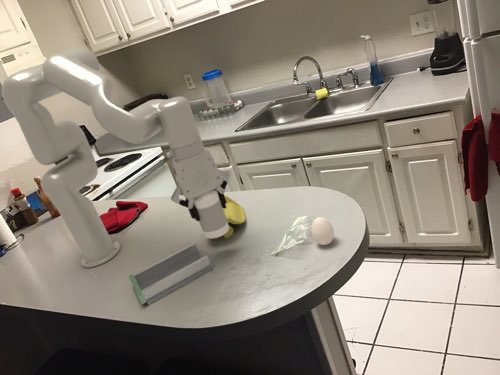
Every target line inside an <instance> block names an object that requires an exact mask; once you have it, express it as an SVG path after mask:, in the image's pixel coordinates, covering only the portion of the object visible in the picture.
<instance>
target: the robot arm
mask: <svg viewBox="0 0 500 375" xmlns="http://www.w3.org/2000/svg"><path fill="white" fill-rule="evenodd" d="M100 67H101V66H100V63H99V59H98V57H96V55H95V54H94V53H93V52H92V51H90V49H87V48H84V47H75V48H71V49H67V50H65V51H64V50H63V51H61V52H58V53H54V54H53V55H50V56H49V57H48V58H46V60H44V62H43V63H41V64H37V65H34V66H31V67H27V68H25V69H21V70H19V71H17V72H14V73H13V74H10V75H9V76H7V77H6V79H4V81H3V82H2V85H1V95H2V96H1V97H2V99H3V102H4V103H5V105H6V107H7V108H8V110H9V111H10V113H11V114H12V115H13V117H14V118H15V119H16V121H17V123H18V124H19V127H20V129H21V132H22V134H23V136H24V138H25V141H26V142H27V145H28V147H29V149H30V151H31V154H32V155H33V157H34V159H35V161H37V162H38V164H41V165H43V166H49V165H54V164H55V163H57V162H59V161H61V160H63V159H65V158H66V157H68V158H67V159H65V160H64V161H62V162H60V163H58V164H56V165H55V166H53V167H51V168H50V169H48V170H46V172H45V173H44V174H43V175H42V177H41V179H40V187H41V189H42V191H43V193H44V194H45V195H46V196H47V198H48V199H49V200H50V202H51V203H53V205H54V207H55V208H56V210H57V212H58V213H59V215H60V216H61V219H62V220H63V222H64V223H65V225H66V227H67V228H68V230H69V233H70V234H71V236H72V238H73V240H74V242H75V243H76V245H77V247H78V248H79V250H80V253H81V255H82V258H81V260H80V264H81V266H82V267H83V268H96V267H99V266H101V265H102V264H104V263H106V262H108V261H110V260H111V259H113V258H114V257H115V256H117V255H118V253H119V252H120V251H121V245H120V243H119V242H118V241H112V238H111V236H110V235H109V232H108V231H107V229H106V227H105V225H104V223H103V220H102V219H101V217H100V215H99V213H98V211H97V209H96V207H95V205H94V204H93V203H94V202H92V200H91V199H90V198H88V197H87V196H86V195H84V194H83V193H80V190H83V188H84V187H86V186H87V185H89V184H90V183H91V182H93V181H94V180H95V179H96V178H97V176H98V172H99V169H98V164H97V162H96V159H95V156H94V153H93V150H92V149H91V146H90V143H89V141H88V139H87V137H86V134H85V132H84V131H83V129H82V128H81V127H80V125H78V124H77V123H75V122H74V121H71V120H61V121H59V122H56V123H55V120H54V119H53V115H52V113H51V112H50V110H48V108H46V106H44V105H43V104H41V103H40V102H42V101H45V100H46V99H48V98H51V97H54V96H56V95H58V94H61V93H65V94H67V95H68V96H70V97H72V98H74V99H75V100H78V101H80V102H82V103H83V104H84V105H86V106H88V107H90V108H91V111H92V114H93V116H94V118H95V119H96V120H97V122H98V124H99V125H100V126H101V127H102V128H103V129H104V130H105V131H106V132H108V133H109V134H111V135H112V136H115V137H117V138H118V139H121V140H122V141H125V142H127V143H130V144H134V145H136V144H142V143H145V142H146V141H148V140H149V139H151V138H152V137H154V136H155V135H157V134H158V133H161V132H162V131H163V132H164V134H165V136H166V140H167V143H168V146H169V151H168V152H166V153H165V154H166V157H167V158H168V159H171V158H172V167H173V171H174V177H175V179H176V183H177V185H176V187H175V190H174V191H173V193H172V195H171V197H170V200H171V201H172V202H173V203H175V204H178V205H180V206H182V207H185V208H188V212H189V215H190V217H191V219H193V220H194V219H195V221H197V222H199V221H200V218H199V215H198V212H197V210H196V207H195V206H194V205H193V202H194V198H196V197H198V196H201V195H203V194H205V193H207V192H209V191H212V190H214V189H216V190H217V193H218V196H219V199H220V202H221V205H222V208H224V209H225V208H226V204H225V203H227V202H226V199H225V196H226V195H225V192H226V191H225V190H226V187H227V185H228V182H229V180H230V176H231V174H230V173H229V172H227V171H224V170H221V169H219V168H218V166H217V163H216V161H215V159H214V157H213V155H212V153H211V152H210V150H209V148H208V147H205V146H204V144H203V141H202V138H201V134H200V132H199V129H198V126H197V124H196V120H195V117H194V114H193V111H192V108H191V105H190V101H189V100H188V99H187V98H186V97H185V96H174V97H171V98H167V99H161V98H157V99H156V98H155V99H151V100H147V101H146V102H144V103H142V104H140V105H138V106H137V107H135V108H133V109H131V110H129V111H127V110H125V109H123V108H121V107H119V106H117V105H115V104H114V103H112V102H111V101H110V100H111V98H112V95H113V91H114V84H113V80H112V78H110V76H108V75H107V74H104V73H102V72H100ZM180 195H182V196H184V198H185V199H182V198H180Z"/></svg>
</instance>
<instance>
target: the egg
mask: <svg viewBox="0 0 500 375" xmlns="http://www.w3.org/2000/svg"><path fill="white" fill-rule="evenodd" d="M310 229H311V236H312V238H313V240H314V241H315V242H316V243H317V244H319V245H321V246H328V245H329V244H330V243H332V241H333V240H334V237H335V230H334V228H333V224H332V223H331V222H330V221H329V220H328V219H327V218H325V217H323V216H318V217H316V218H314V220H313V222H312V224H311V228H310Z"/></svg>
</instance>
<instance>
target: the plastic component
mask: <svg viewBox="0 0 500 375" xmlns="http://www.w3.org/2000/svg"><path fill="white" fill-rule="evenodd" d="M224 196H225V199H226V202H227V203H225V204H226V208H225V209H224V208H223V211H224V213H225V216H226V219H227V222H228V225H229V230H228V231H227V232H226V233H225V234H224V235H222V237H224V238H225V239H227V238H229V237H230V236H232V234H233V233H234V228H233V227H232V226H231V225H230V224H233V225H242V224H243V223H245V222H246V218H247V217H246V213H245V209H244V208H243V207H242V205H241V204H239V203H238V202H236V200H235V201H234V200H233V199H232V198H231V197H229V196H228V195H224ZM229 223H230V224H229Z"/></svg>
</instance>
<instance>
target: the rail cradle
mask: <svg viewBox="0 0 500 375" xmlns="http://www.w3.org/2000/svg"><path fill="white" fill-rule="evenodd" d="M213 267H214V266H213V265H212V263H211V261H210V259H209V256H208V255H205V256H203V254H202V253H201V252H200V251H199V248H198V246H197V244H196V243H195V242H192V243H191V244H188V245H187V246H186V245H185V246H184V247H183V248H181V249H178V250H177V251H175V252H173V253H171V254H169V255H166V257H163V258H162V259H160V260H157V261H156V262H154V263H152V264H150V265H148V266H147V267H144V268H142V269H141V270H139V271H136V272H135V273H131V274H129V275H128V278H129V280H130V282H131V285H132V287H133V289H134V291H135V293H136V294H137V298H138V299H139V301H140V303H141V305H144V304H146V303H147V305H148V306H150V305H152V304H154V303H155V302H157V301H158V300H159V301H160V299H162V298H164V297H166V296H168V295H169V294H171V293H173V292H175V291H177V290H178V289H180V288H181V287H184V286H185V285H187V284H189V283H191V282H192V281H194V280H197V279H199V278H200V277H201V276H203V275H206V274H207V273H210V271H213V270H214V268H213Z"/></svg>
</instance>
